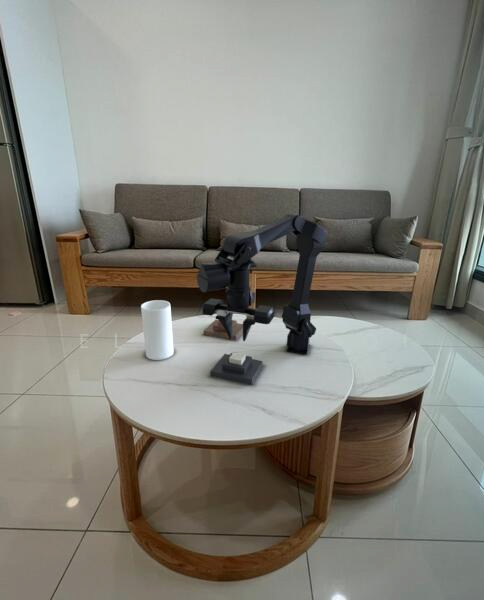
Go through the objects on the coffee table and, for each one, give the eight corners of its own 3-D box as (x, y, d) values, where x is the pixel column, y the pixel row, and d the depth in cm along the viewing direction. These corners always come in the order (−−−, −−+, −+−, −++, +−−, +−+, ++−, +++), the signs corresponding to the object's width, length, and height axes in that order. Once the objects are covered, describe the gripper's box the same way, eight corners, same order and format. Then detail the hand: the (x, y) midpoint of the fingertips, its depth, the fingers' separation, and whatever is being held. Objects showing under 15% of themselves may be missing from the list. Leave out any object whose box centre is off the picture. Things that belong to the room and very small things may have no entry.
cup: (157, 363, 94) (152, 312, 88) (140, 353, 99) (135, 305, 93) (179, 352, 100) (176, 304, 95) (162, 344, 105) (158, 298, 99)
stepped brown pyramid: (245, 328, 117) (245, 319, 116) (235, 340, 108) (236, 331, 107) (215, 323, 121) (215, 315, 119) (203, 334, 112) (203, 325, 111)
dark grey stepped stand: (262, 365, 94) (263, 355, 93) (251, 385, 85) (252, 373, 84) (224, 358, 97) (224, 348, 96) (210, 376, 88) (210, 365, 87)
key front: (245, 359, 91) (245, 354, 91) (241, 366, 88) (241, 360, 87) (233, 357, 92) (233, 351, 92) (229, 363, 89) (229, 358, 88)
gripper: (280, 280, 87) (278, 332, 92) (217, 273, 92) (218, 322, 98) (270, 293, 77) (267, 350, 82) (199, 284, 82) (201, 338, 88)
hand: (237, 339), depth 88 cm, fingers open, 4 cm apart
